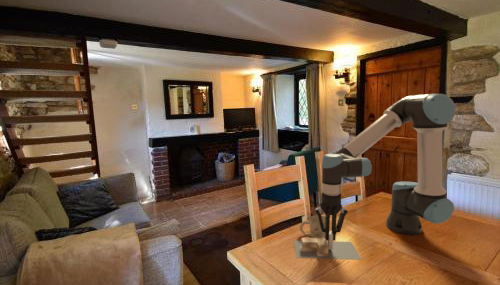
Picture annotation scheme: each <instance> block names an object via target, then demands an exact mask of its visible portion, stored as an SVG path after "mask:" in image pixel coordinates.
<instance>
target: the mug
mask: <svg viewBox="0 0 500 285" xmlns="http://www.w3.org/2000/svg"><path fill="white" fill-rule="evenodd" d="M321 216H322V221H323V225H324V228H325V215H324V216H323V215H321ZM308 220H309V221H308ZM308 220H306V221H303V222H301V223H300V225H299V231H300V232H301V233H302V235H305V236H310V238H315V234H323V236H324V238H325V232H322V230H321V227H320V223H319V219H318V215H317V214H316V215H315V214H314V215H312V216H310V217H309V219H308ZM305 225H309V229H310V233H309V232H308V233H307V232H305V230H304V229H303V227H304V226H305ZM325 239H326V238H325Z"/></svg>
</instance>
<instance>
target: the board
mask: <svg viewBox="0 0 500 285" xmlns="http://www.w3.org/2000/svg"><path fill="white" fill-rule="evenodd" d="M326 243H327V245H328V241H326ZM293 246H294V252H295V258H297V259H324V260H326V259H327V260H328V259H329V260H359V261H362V260H363V259H362V258H361V256H360V253H359V252H358V251H357V249H356V247H355V246H354V244H353V242H352V241H333V249H329V248H328V256H319V255H318V252H313V251H303V250H302V240H293Z"/></svg>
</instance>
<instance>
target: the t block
mask: <svg viewBox="0 0 500 285" xmlns="http://www.w3.org/2000/svg"><path fill="white" fill-rule="evenodd" d="M301 241H302V250H303V251H313V252H318V255H319V256H328V245H327V243H326V238H324V236H323V234H315V238H312V237H301Z"/></svg>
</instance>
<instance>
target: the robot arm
mask: <svg viewBox="0 0 500 285" xmlns="http://www.w3.org/2000/svg"><path fill="white" fill-rule="evenodd" d="M455 115H456V106H455V103H454V100H453V99H452V98H450V97H449V96H448V95H446V94H445V93H427V94H425V93H424V94H412V95H407V96H405V97H402V98H401V99H399V100H398V101H396V102H394V103H393V104H392V105H390V106H389V107H387V108H386V109H385V110H384V111H383V115H381V116H380V117H379V118H377V119H376V120H375V121H374V122H372V123H371V124H370V125H369V126H368V127H366V128H365V129H364V130H363V131H361V132H360V133H358V135H356V136H355V137H354V138H352V139H351V140H350V141H349V142H347V143H346V144H345V145H344V146H342V148H340V149H339V150H334V151H330V152H329V153H326V154H323V156H322V159H321V169H322V170H321V203H320V205H319V206H318V207H314V211H315V213H316V215H318V219H319V223H320V227H321V230H322V232H325V240H326V241H328V248H329V249H333V242H336V236H337V233H341V231H342V227H343V223H344V222H345V217H346V215H347V214H348V213H349V212H348V209H347V208H345V207H344V206H343V205H342V180H343V178H344V179H346V178H359V177H360V178H362V177H367V176H369V175H371V173H372V168H373V166H372V163H371V161H370V159H369V158H368V157H361V156H362V154H364V153H365V152H366V151H368V150H369V149H370V148H372V147H373V146H374V145H375V144H376V143H377V142H378V141H380V140H382V138H384V137H385V136H386V135H388V134H389V133H390V132H391V131H393V130H394V129H395V128H400V127H401V126H402V125H404V124H406V123H410V122H412V129H414V130H415V131H416V132H417V134H416V135H417V137H416V138H417V140H416V143H417V147H416V148H417V182H414V181H396V182H394V183H393V184H392V189H391V203H390V204H391V206H390V207H391V208H390V212H389V214H388V216H387V217H386V227H387V228H388V229H389V230H391V231H393V232H396V233H399V234H402V235H408V236H416V235H420V234H421V233H423V226H422V222H421V219H420V218H422V219H424V220H425V221H427V222H430V223H432V224H436V225H437V224H443V223H445V222H447V221H448V220H449V219H450V218H451V217H452V216H453V213H454V212H455V211H454V210H455V205H454V202H453V201H451V199H449V198H447V197H448V196H447V195H448V192H447V190H446V189H445V188H444V187H443V131H444V130H446V129H447V128H448V123H450V122H452V120H453V119H454V117H455ZM322 211H323V213H324V217H325V228H324V225H323V221H322V216H323V215H322V214H321V213H322ZM339 212H340V213H339ZM338 214H339V217H337V216H338ZM330 218H331V219H330ZM337 218H338V220H337ZM330 221H331V224H330ZM330 225H331V228H330ZM330 229H331V230H330Z"/></svg>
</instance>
